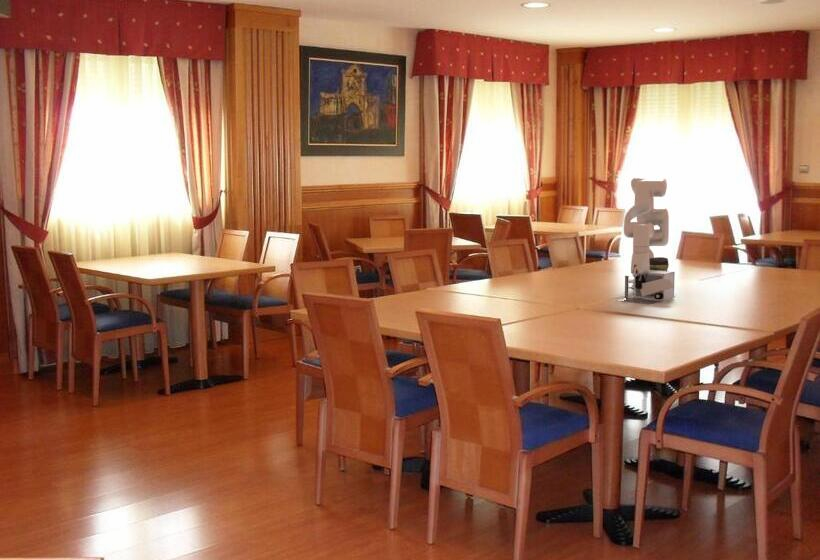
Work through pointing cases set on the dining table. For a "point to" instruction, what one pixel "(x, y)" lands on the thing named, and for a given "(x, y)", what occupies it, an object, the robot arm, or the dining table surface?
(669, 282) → the grey plank with wheel
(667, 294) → the cabinet
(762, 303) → the dining table surface
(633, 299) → the grey l-shaped piece
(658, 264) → the coffee jar
